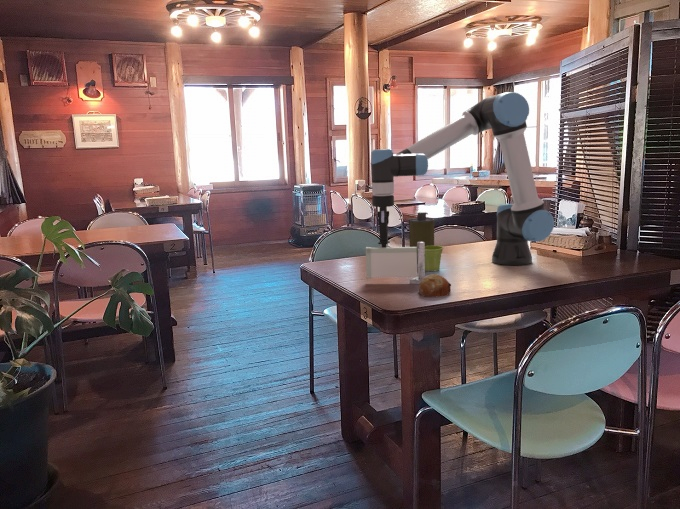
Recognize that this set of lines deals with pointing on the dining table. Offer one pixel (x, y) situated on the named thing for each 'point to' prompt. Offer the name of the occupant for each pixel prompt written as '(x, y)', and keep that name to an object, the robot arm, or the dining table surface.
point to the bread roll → (434, 286)
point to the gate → (391, 262)
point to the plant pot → (432, 257)
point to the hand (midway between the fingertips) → (384, 262)
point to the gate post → (420, 264)
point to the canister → (421, 230)
